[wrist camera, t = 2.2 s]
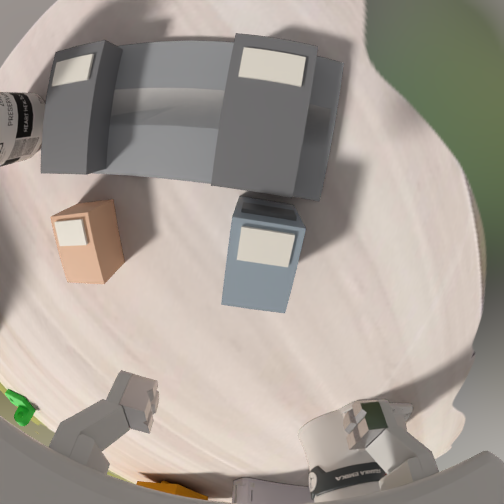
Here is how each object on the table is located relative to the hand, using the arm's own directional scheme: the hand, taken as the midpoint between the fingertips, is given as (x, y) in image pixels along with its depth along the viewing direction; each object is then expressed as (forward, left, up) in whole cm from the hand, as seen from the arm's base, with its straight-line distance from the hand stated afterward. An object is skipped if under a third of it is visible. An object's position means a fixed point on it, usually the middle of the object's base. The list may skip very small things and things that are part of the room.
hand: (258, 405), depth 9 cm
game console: (-18, +71, -18) cm, 76 cm away
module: (0, -1, -18) cm, 18 cm away
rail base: (+9, -12, -18) cm, 23 cm away
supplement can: (+29, -11, -18) cm, 36 cm away
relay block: (+17, +2, -18) cm, 25 cm away
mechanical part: (+61, +59, -18) cm, 87 cm away
